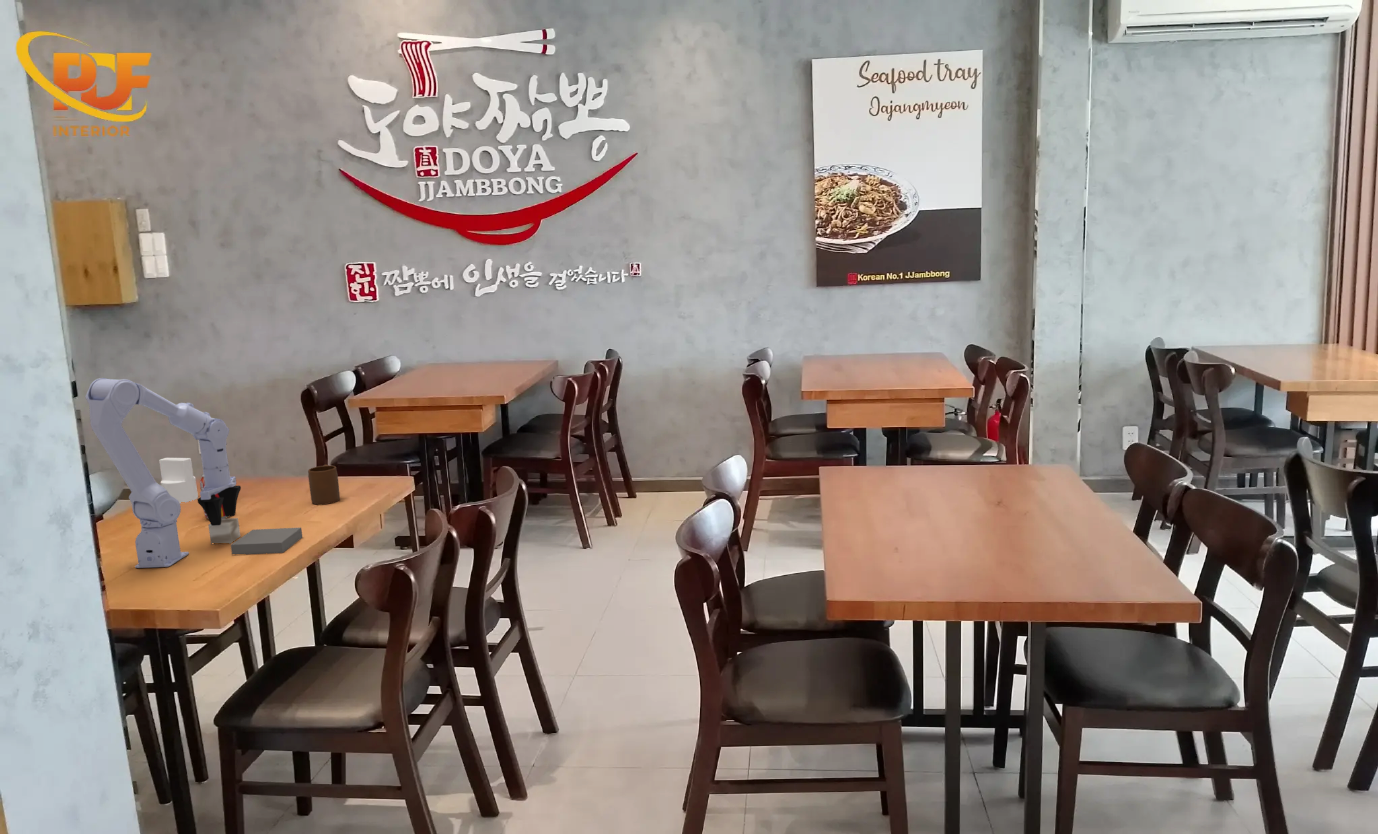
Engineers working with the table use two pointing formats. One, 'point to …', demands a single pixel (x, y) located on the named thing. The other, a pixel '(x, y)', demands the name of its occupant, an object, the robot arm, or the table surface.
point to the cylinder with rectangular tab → (178, 478)
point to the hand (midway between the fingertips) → (223, 520)
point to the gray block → (225, 531)
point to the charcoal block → (267, 541)
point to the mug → (323, 484)
